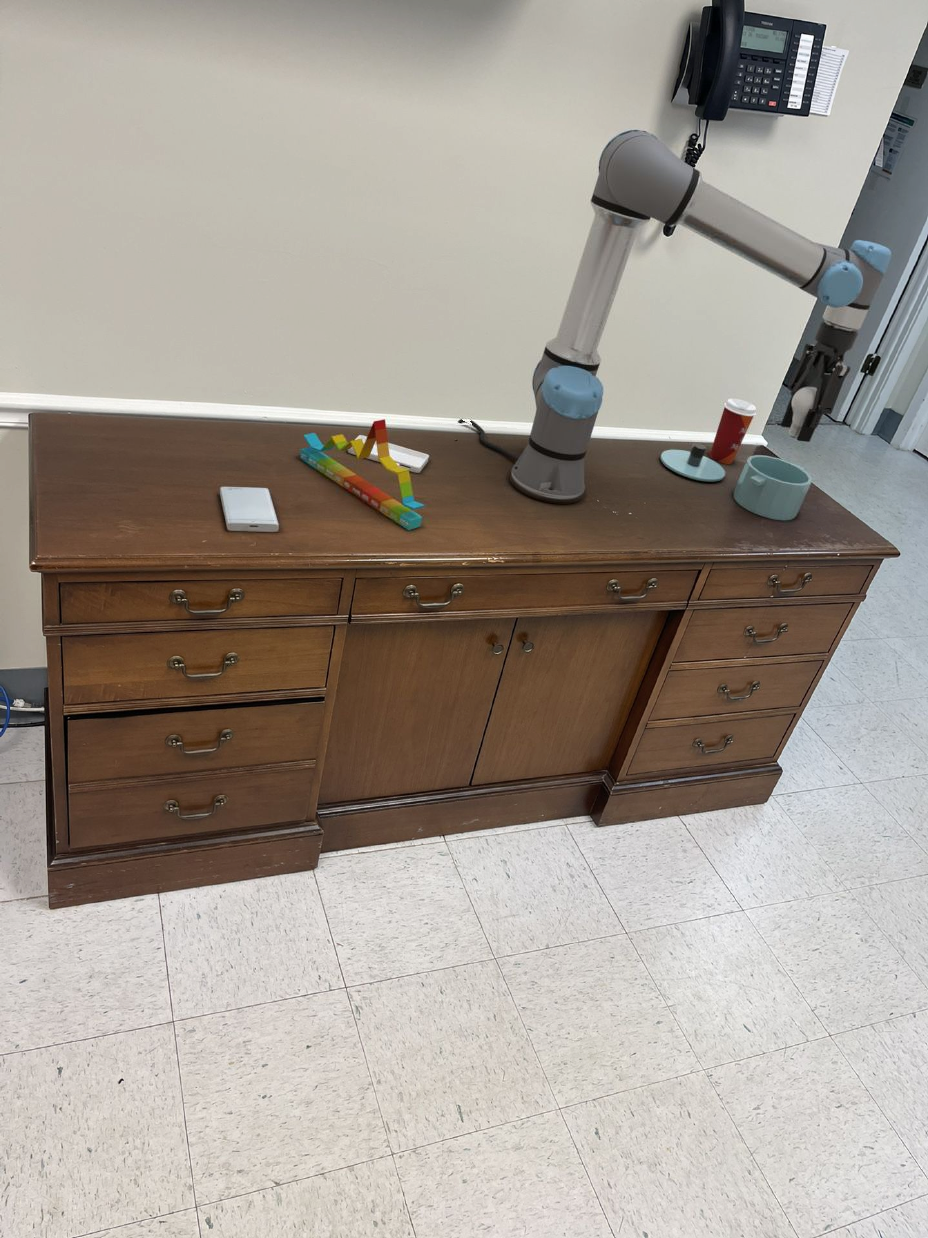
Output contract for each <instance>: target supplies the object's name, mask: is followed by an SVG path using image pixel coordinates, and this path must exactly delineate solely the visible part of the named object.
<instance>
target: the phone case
mask: <svg viewBox="0 0 928 1238" xmlns="http://www.w3.org/2000/svg"><path fill="white" fill-rule="evenodd" d="M367 436H368V435H367ZM367 436H366V435H363V434H359V435H358V436H357V437H356V438H355V439H354V440H357V439H362V441H363V443H365V441H366V439H367ZM388 447H389V455H390V457H391V458H392V459H393V460H394V461H395V463H396V464H397V465H398V466H399V467H402V468H405V469H408V470H409V472H412V473H415V474H420V473H421V472H422V471H423V469H424V467H426V465H427V464H428V463H429V460H430V459H429V458H430V455H429V454H428V453H424V452H422V451H417V450H414V449H410V448H407V447H404V446H400V445H398V444H393V443H390V442H388ZM347 453H349V454H350V455H354V456H356V454H355V452H354V450H353V447H352V448H350V449H347ZM366 459H367V460H370V461H371V460H372V461H375V462H377V463H381V462H380V461H379V460H378V452H377V444H376V442H375V444H374V446H373V449H372V451H371V453H370V456H369V457H367V458H366Z"/></svg>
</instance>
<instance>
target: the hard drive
mask: <svg viewBox="0 0 928 1238" xmlns="http://www.w3.org/2000/svg"><path fill="white" fill-rule="evenodd" d="M219 497H220V500H221V506H222V511H223V515H224V519H225V525H226V530H227V531H230V532H264V533H265V532H266V533H278V532H279V527H280V524H279V521H278V517H277V514H276V511H275V508H274V507H275V506H274V504H273V500H272V496H271V493H270V490H269V489H268V488H267V487H250V486H249V487H247V486H246V487H244V486H221V487H219Z"/></svg>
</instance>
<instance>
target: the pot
mask: <svg viewBox="0 0 928 1238" xmlns="http://www.w3.org/2000/svg"><path fill="white" fill-rule="evenodd" d="M812 483H813V478H812V476H811V475H810V474H809V472H807V471H806V470H805V468H804V467H802V466H800V465H799V464H796V463H795V464H794V463H792V462H790V461H787V460H784V459H781V458H778V457H774V456H769V455H761V454H755V455H751V456H748V458H747V459H746V461H745V464H744V467H743V468H742V471H741V473H740V476H739V479H738V481H737V484H736V486H735V489H734V491H733V493H732V494H733V499H734V501H735V502H736V503H737V504H738V505H739V506H741V507H742V508H743V509H745V510H747V511H749V512H751V513H753V514H755V515H758V516H761V517H763V518H767V519H771V520H775V521H791V520H793V519H795V518H796V517H797V515H798V513H799V511H800V509H801V506H802V504H803V502H804V500H805V497H806V495H807V493H808V491H809V489H810V487H811V485H812Z"/></svg>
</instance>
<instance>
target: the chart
mask: <svg viewBox="0 0 928 1238" xmlns="http://www.w3.org/2000/svg"><path fill="white" fill-rule="evenodd" d="M303 438H304V440H305V441H306V444H307V445H308V446H309V447H305V448H300V453H299V459H300V460H302V461H303V462H304V463H306V464H308V465H309V466H311V467H312V468H313V469H315V470H317V471H318V472H320V473H321V474H323V475H324V476H326V477H327V478H329V479H330V480H332V481H333V482H335V483H336V484H337V485H339V486H341V487H342V488H344V489H345V490H347V491H348V492H350V493H351V494H353V495H355V496H356V497H357V498H359V499H360V500H362V501H363V502H364V503H366V504H368V505H369V506H370V507H372V508H374V509H375V510H377V511H378V512H380V513H381V514H383V515H384V516H385V517H387V518H389V519H391V520H392V521H394V522H395V523H396V524H398V525H400V526H401V527H403V528H404V529H405V530H407V531H411V530H413V529H418V528H420V527H421V525H422V520H423V516H421V515H420V514H418V513H417V512H416V511H415V510H419V509H422V508H425V506H426V505H425V504H424V503H421V502H418V501H416V500H415V498H414V493H413V487H412V481H411V475H410V471H409V470H408V469H405V468H402V467H403V466H402V467H399V466H400V465H399V466H398V465H397V464H396V463H395V461H394V460H393V459H392V458H391V457H390V455H389V447H388V443H389V441H388V440H389V439H388V432H387V424H386V419H379V420H374V421H373V423H372V424H371V427H370V429H369V431H368V434H367V439H366V441H365V443H363V441H362V439H357V440H355V439H353V440H349V441H347V439H346V437H345V436H344V434H343V433H342V434H336V435H331V436H330V437H329V439H327V441H326V442H325V444H323V443H322V442H321V440H320V438H319V437H318V435H317V434H316V432H311V433H307V434H303ZM375 442H376V444H377V452H378V460H379V461H380V462H379V463H380V464H381V465H382V466H383V467H384V469H385V470H386V471H387V472H389V473H392V474H395V475H397V479H398V486H399V491H400V497H401V502H402V503H401V502H399V501H398V500H396V499H394V498H393V497H392V496H390V495H388V494H387V493H386V492H384V491H382V490H381V489H379V488H377V487H376V486H375V485H373V484H372V483H370V482H369V481H366V479H364V478H362V477H361V476H359V475H358V474H356V473H355V472H353V471H351V470H350V469H348V468H347V467H345V466H344V465H342V464H341V463H339V462H337V461H336V460H334V459H333V458H331V457H330V456H328V455H327V454H325V453H323V452H326V451H330V450H332V449H333V448H334V447H336V448H337V450H338V452H341V451H348V449H350V448H352V447H353V450H354V452H355V454H356V455H355V456H356V458H357V460H362V459H368V458H367V457H369V456H370V453H371V451H372V449H373V446H374V444H375Z"/></svg>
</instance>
